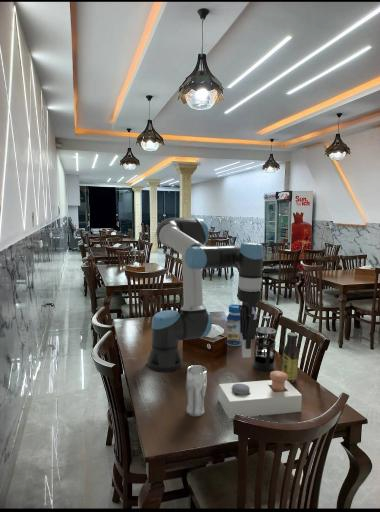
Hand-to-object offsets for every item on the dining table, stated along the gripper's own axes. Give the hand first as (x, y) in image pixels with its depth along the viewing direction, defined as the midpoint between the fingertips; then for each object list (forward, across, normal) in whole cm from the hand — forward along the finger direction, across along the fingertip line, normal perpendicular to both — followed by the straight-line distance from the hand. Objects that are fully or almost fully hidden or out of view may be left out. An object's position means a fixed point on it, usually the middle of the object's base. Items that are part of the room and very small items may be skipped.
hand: (246, 356), depth 123 cm
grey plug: (+18, 0, +1) cm, 18 cm away
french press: (+19, +31, -20) cm, 41 cm away
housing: (+19, 0, -6) cm, 19 cm away
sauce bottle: (+19, +17, -25) cm, 36 cm away
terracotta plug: (+14, 0, -13) cm, 19 cm away
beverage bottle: (+19, +59, -16) cm, 63 cm away
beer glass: (+19, 0, +17) cm, 26 cm away
